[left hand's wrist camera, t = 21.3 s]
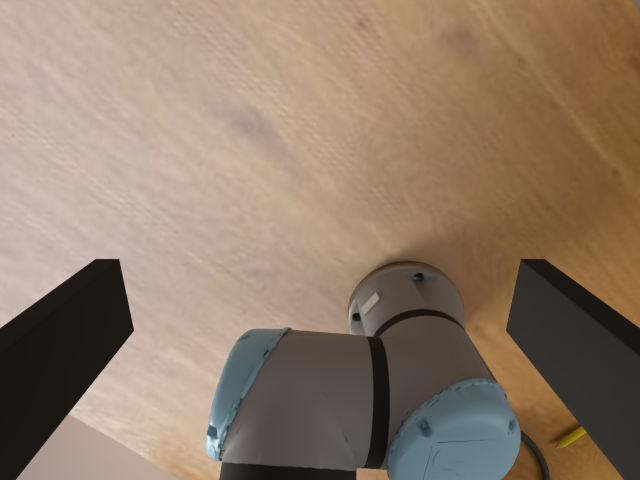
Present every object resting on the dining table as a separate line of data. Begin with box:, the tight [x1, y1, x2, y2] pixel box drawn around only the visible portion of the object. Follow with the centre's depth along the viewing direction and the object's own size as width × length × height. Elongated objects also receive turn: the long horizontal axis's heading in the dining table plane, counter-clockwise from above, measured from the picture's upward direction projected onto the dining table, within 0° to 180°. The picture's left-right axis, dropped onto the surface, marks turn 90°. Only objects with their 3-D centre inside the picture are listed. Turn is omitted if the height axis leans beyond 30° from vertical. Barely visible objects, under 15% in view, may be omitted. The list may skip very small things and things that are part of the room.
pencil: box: [555, 426, 586, 449], centre depth 58 cm, size 16×1×1 cm, turn 140°
